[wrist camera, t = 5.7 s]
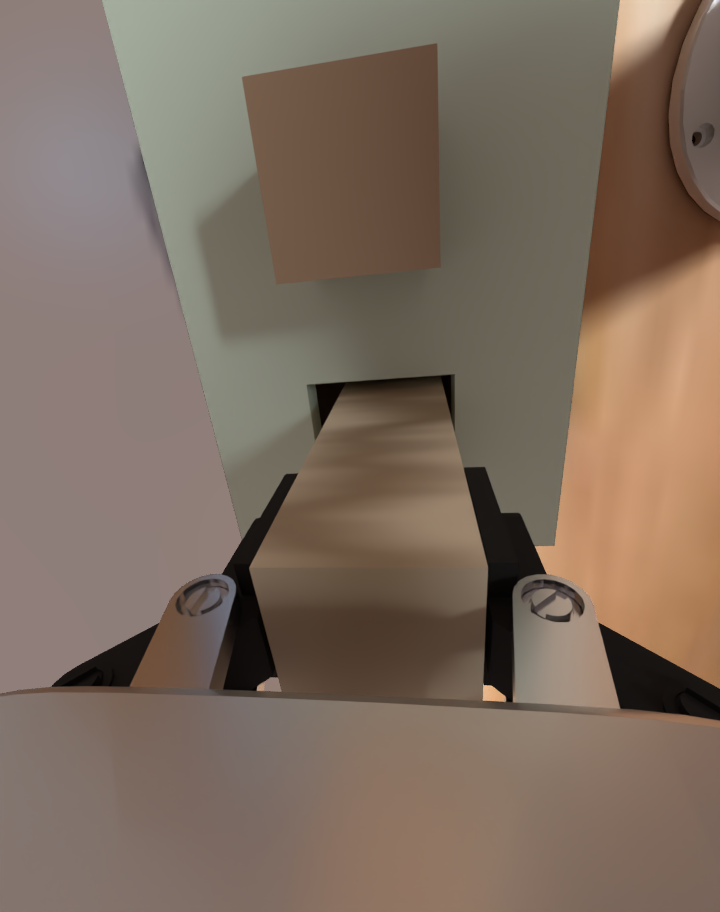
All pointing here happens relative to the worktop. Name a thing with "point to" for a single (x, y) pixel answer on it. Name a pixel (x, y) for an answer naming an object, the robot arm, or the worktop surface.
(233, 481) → the lid
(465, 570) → the block
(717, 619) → the worktop surface
